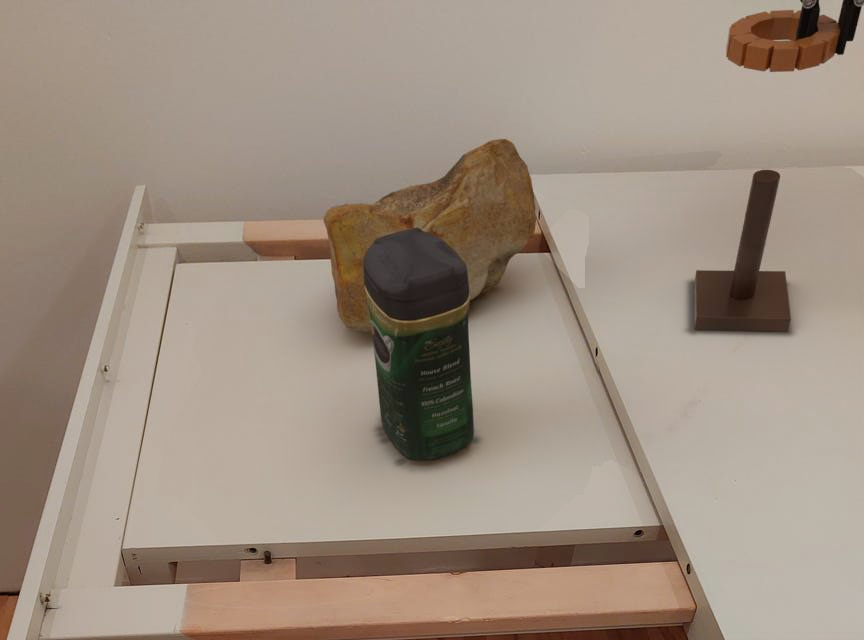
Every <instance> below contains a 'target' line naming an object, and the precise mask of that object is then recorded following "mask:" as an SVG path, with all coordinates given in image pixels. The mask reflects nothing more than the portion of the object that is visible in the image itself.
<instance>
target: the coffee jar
mask: <svg viewBox="0 0 864 640" xmlns="http://www.w3.org/2000/svg"><path fill="white" fill-rule="evenodd" d="M363 267H364V285H365V292H366V297H367V303H368V308H369V313H370V320H371V327H372V334H371V335H372V342H373V343H372V344H373V352H374V353H373V354H374V361H375V370H376V372H375V373H376V382H377V389H378V390H377V393H378V403H379V414H380V421H381V424H382V428H383V430H384V432H385V434H386V436H387V438H388V439H389V441H390V442H391V444H392V445H393V446H394V448H395V449H396V450H397V451H398V452H399V454H401V456H403V458H404V459H407V460H409V461H413V462H435V461H440V460H443V459H447V458H450V457H451V456H454V455H456V454H458V453H459V452H461V451H463V450H465V449H466V448H467V447H468V446H470V444H471V443H472V442H473V439H474V436H475V425H474V424H475V422H474V404H473V403H474V402H473V390H472V375H471V355H470V353H471V351H470V334H469V333H470V332H469V315H470V314H469V313H470V312H469V311H470V303H471V300H470V293H469V282H468V273H467V267H466V264H465V263H464V261H463V260H462V259H461V257H460V256H459V255H458V254H457V253H456V252H455V251H454V250H453V249H452V248H451V247H450V246H449V245H448V244H447V243H446V242H445V241H444V240H442V239H441V238H439V237H437V236H435V235H433V234H430V233H428V232H425V231H422V230H421V229H420V228H417V227H416V228H412V229H407V230H403V231H399V232H396V233H392V234H388V235H385V236H382V237H379V238H376V240H375V241H374V243H373V244H372V245H371V246H370V248H369V249H368V250H367V252H366V254H365V257H364V262H363Z"/></svg>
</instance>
